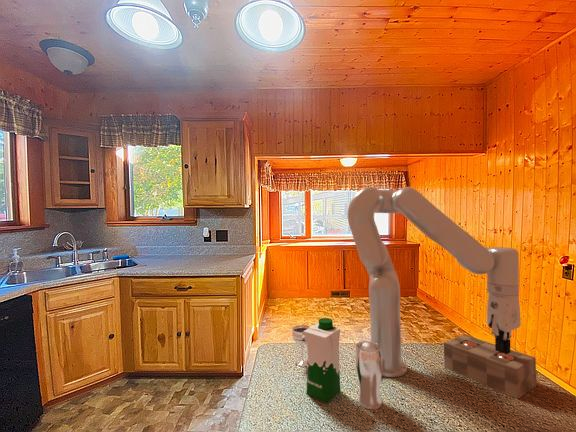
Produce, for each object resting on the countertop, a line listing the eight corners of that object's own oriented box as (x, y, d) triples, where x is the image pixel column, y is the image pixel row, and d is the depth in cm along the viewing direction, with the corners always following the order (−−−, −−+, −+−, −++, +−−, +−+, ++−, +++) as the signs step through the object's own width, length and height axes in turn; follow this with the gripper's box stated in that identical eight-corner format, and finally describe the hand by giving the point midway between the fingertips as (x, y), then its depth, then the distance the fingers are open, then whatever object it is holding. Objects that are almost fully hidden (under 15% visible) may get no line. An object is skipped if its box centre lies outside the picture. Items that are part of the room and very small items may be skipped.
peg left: (473, 371, 90) (472, 347, 90) (460, 366, 94) (460, 342, 94) (480, 368, 92) (479, 344, 92) (467, 362, 96) (466, 340, 96)
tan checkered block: (517, 399, 77) (516, 369, 77) (444, 367, 94) (443, 342, 94) (536, 385, 83) (535, 357, 83) (464, 357, 100) (464, 334, 100)
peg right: (511, 387, 81) (510, 360, 82) (495, 380, 85) (494, 355, 85) (517, 382, 83) (516, 357, 84) (501, 376, 87) (501, 351, 87)
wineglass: (293, 358, 102) (292, 325, 102) (312, 359, 102) (311, 325, 102) (292, 368, 95) (291, 332, 96) (312, 369, 95) (311, 332, 95)
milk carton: (344, 391, 82) (343, 321, 83) (327, 407, 76) (325, 331, 76) (319, 380, 88) (317, 315, 88) (301, 394, 81) (299, 323, 82)
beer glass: (383, 396, 79) (382, 342, 79) (383, 413, 73) (381, 353, 73) (357, 392, 82) (356, 339, 82) (355, 407, 75) (353, 350, 75)
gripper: (504, 295, 78) (505, 363, 78) (529, 289, 85) (529, 351, 85) (475, 289, 84) (475, 352, 84) (500, 283, 92) (500, 341, 91)
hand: (502, 351), depth 85 cm, fingers closed
